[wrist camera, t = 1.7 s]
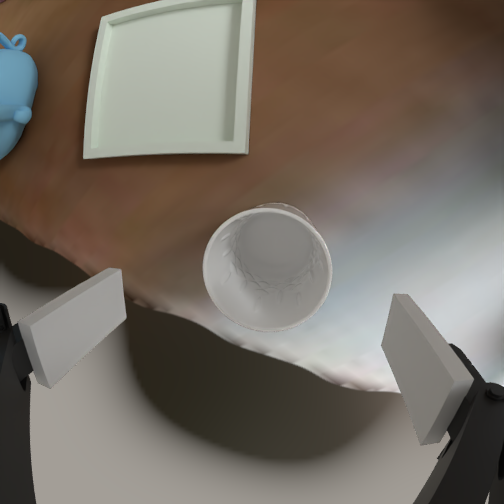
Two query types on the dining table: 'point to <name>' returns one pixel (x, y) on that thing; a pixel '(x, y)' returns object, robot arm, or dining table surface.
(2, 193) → the dining table surface
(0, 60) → the decorative pot
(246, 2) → the tray
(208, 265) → the white cup
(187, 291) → the dining table surface
